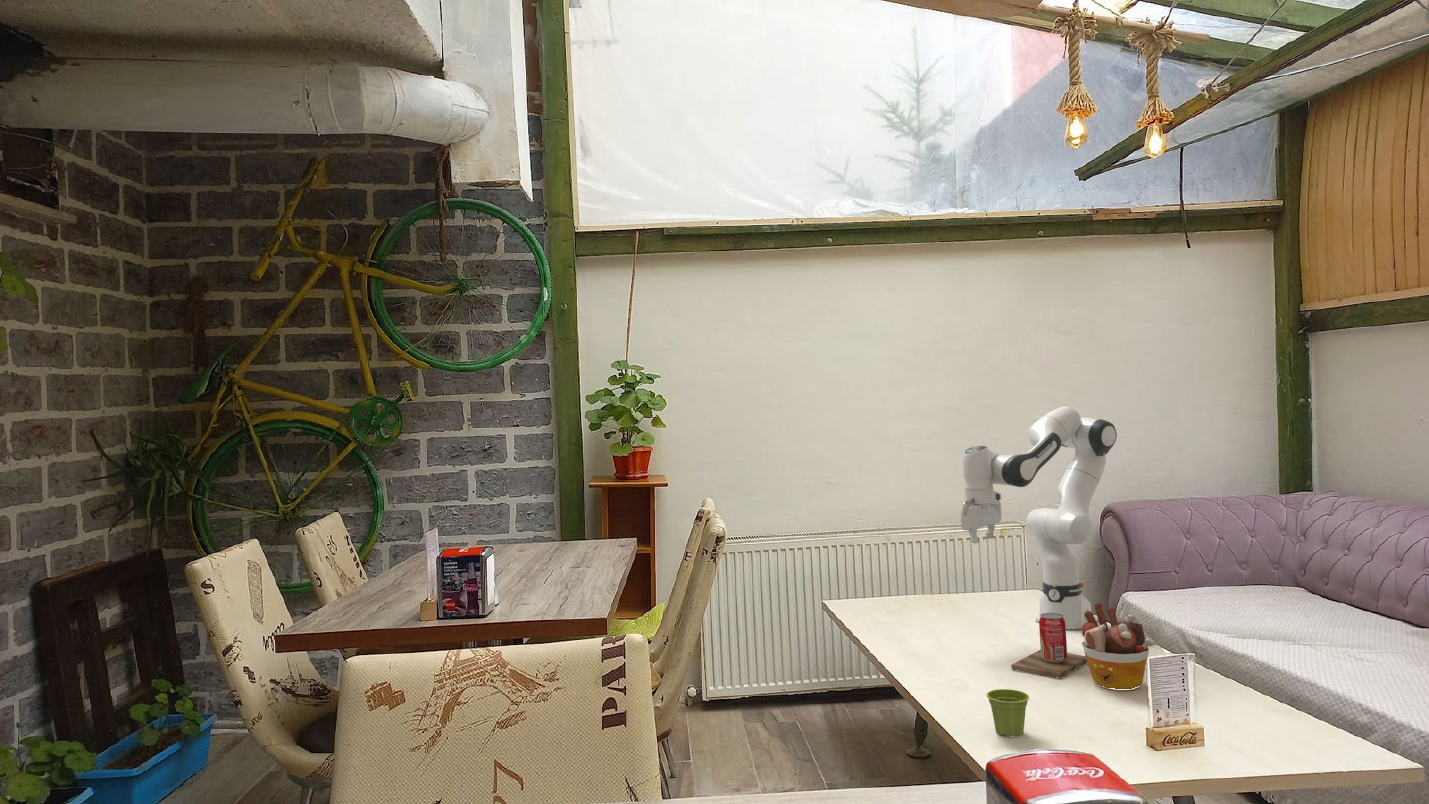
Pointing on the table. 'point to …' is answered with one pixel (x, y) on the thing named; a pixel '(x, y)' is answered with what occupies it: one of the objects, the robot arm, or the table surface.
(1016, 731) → the plant pot
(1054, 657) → the soda can
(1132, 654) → the bucket of meat
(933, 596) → the table surface
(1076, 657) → the walnut board
